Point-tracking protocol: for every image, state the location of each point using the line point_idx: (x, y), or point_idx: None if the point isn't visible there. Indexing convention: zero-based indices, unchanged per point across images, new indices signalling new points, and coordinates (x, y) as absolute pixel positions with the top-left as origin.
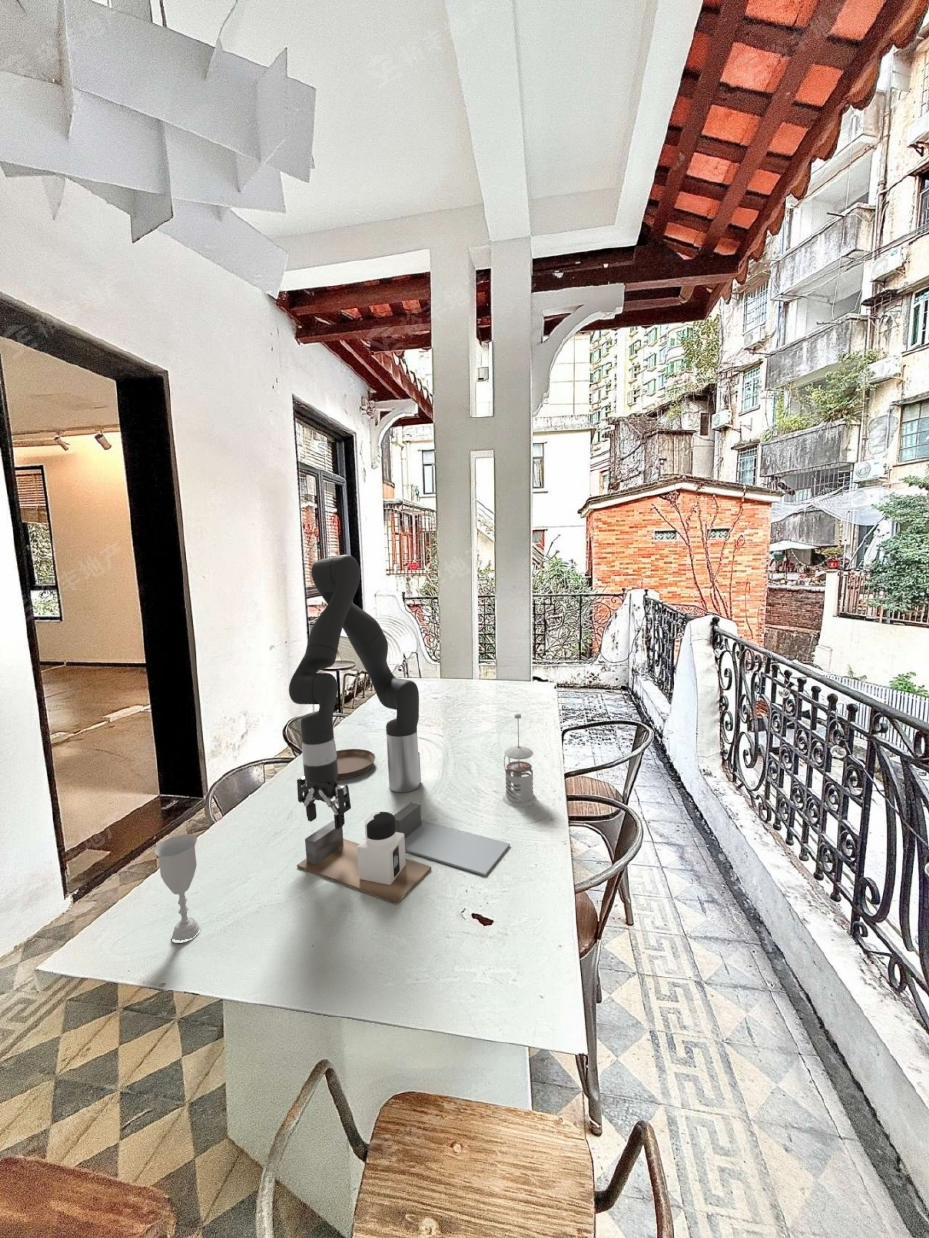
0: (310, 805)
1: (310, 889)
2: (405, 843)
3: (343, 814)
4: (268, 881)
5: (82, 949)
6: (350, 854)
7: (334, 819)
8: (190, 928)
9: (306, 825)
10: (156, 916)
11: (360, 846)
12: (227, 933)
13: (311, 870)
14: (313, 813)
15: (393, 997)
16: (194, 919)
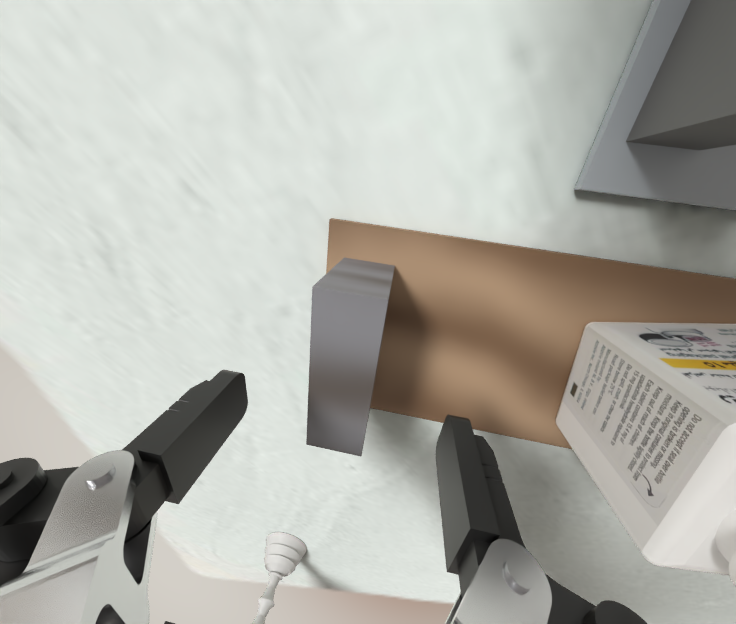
0: (163, 491)
1: (418, 450)
2: (733, 152)
3: (514, 530)
4: (297, 442)
5: (194, 562)
6: (459, 316)
7: (444, 522)
8: (294, 568)
9: (136, 162)
10: (207, 523)
11: (671, 566)
12: (346, 542)
13: (377, 408)
14: (219, 415)
15: (722, 617)
16: (281, 558)
